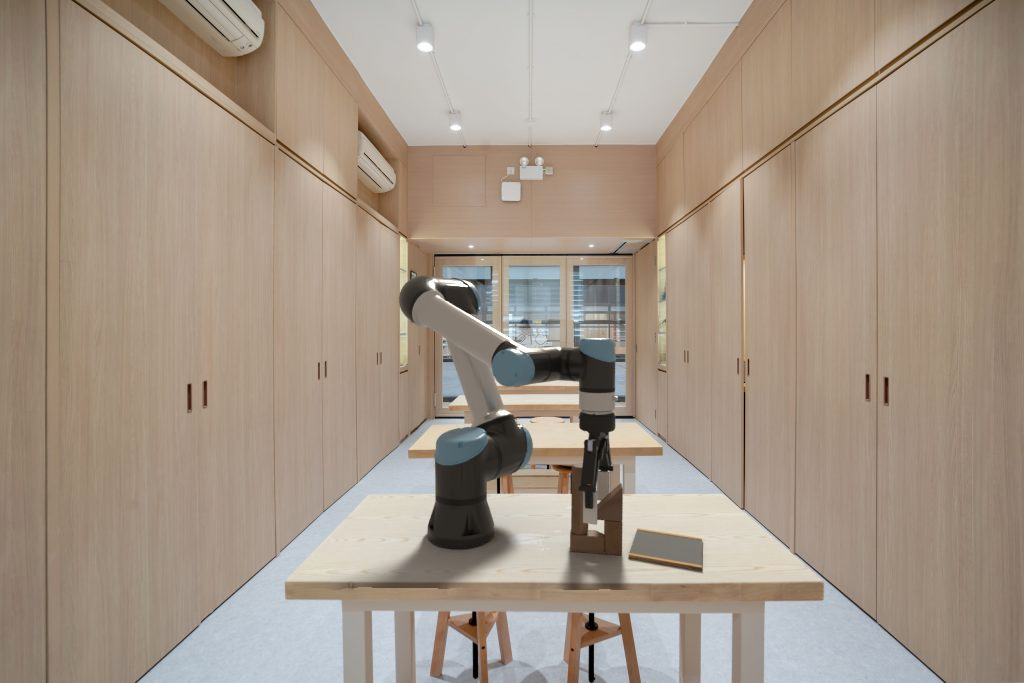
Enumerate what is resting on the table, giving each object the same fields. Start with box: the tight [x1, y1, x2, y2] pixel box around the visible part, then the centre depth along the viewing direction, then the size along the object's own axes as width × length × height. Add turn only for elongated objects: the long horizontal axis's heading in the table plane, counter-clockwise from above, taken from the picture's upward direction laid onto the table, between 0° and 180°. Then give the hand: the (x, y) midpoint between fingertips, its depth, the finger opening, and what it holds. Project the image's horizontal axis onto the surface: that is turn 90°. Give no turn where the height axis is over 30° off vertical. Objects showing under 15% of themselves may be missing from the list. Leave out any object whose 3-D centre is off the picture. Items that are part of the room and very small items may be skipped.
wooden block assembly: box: [569, 463, 624, 556], centre depth 103 cm, size 4×11×18 cm, turn 82°
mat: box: [628, 528, 703, 572], centre depth 104 cm, size 14×14×1 cm
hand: (597, 511), depth 103 cm, fingers open, 13 cm apart
